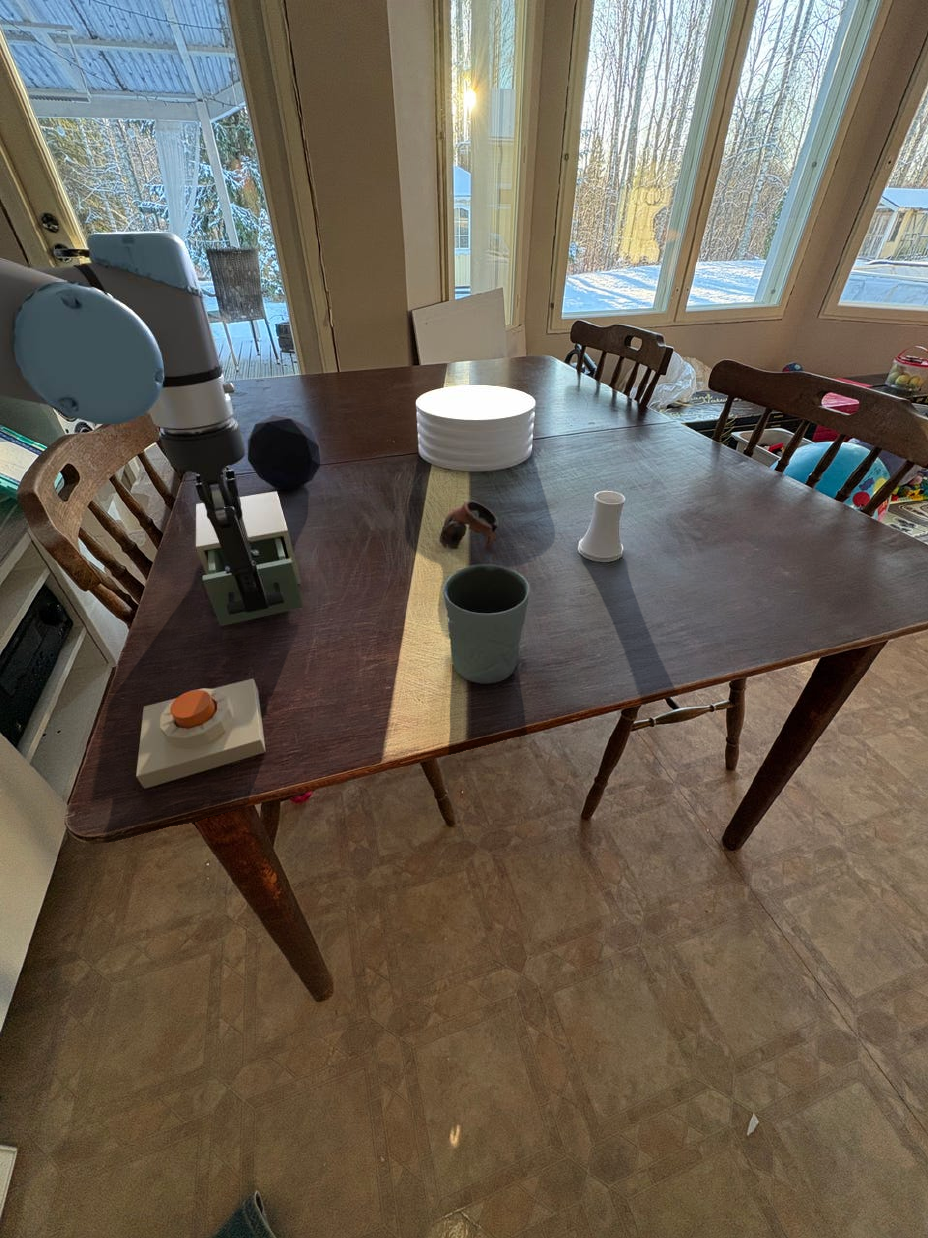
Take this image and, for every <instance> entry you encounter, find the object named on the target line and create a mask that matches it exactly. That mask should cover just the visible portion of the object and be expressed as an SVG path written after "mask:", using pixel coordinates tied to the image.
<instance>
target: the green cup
mask: <svg viewBox="0 0 928 1238" xmlns="http://www.w3.org/2000/svg"><path fill="white" fill-rule="evenodd" d="M442 593H443V600H444V605H445V610H446V616H447V618H448V621H447V631H448V637H449V640H450V641H449V643H450V644H449V645H450V654H451V662H452V666H453V668H454V669H455V671H456V673H457V674H458V675H459V676H461V677H462V678H464V679H465V680H467V681H470V682H472V683H477V684H487V685H489V684H494V683H495V684H496V683H498V682H501V681H503V680H506V679H507V678H509V677H510V676H511V675H512V674H513V673H514V672H515V669H516V667H517V664H518V659H519V654H520V643H521V639H522V637H521V636H522V631H523V627H524V624H525V618H526V612H527V608H528V604H529V598H530V594H531V586H530V584H529V582H528V580H527V579H526V578H525V576H523V575H522V574H521V573H520V572H518V571H516V570H515V569H513V568H510V567H507V566H504V565H499V564H494V563H493V564H490V563H479V564H473V565H468V566H465V567H461V568H460V569H458V570H456V571H455V572H453V573H452V574H451V575H450V576H449V577H448V578H447V579H446V580H445V582H444V584H443V590H442Z"/></svg>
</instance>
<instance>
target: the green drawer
mask: <svg viewBox="0 0 928 1238" xmlns="http://www.w3.org/2000/svg"><path fill="white" fill-rule="evenodd" d="M250 546H251V547H250V548H251V551H254V550H258V553H259V557H256V558H252V560H255V562H256V566H257V569H258V572H259V575H260V579H261V582H262V585H263V588H264V592H265V595H266V598H267V601H268V607H269V608H267V609H263V610H258V611H254V612H249V613H247V612H246V609H245V606H244V603H243V600H242V597H241V594H240V591H239V589H238V586H237V583H236V580H235V577H234V576H232V574H231V573H230V574H226V569H225V567H226V566H228V563H227V561H226V558H225V556H224V553H223V551H222V548H221V547H220V548H214V549H209V550H208V565H209V573H210V574H209V575H206V574H205V575H202V582H203V585H204V588H205V591H206V593H207V595H208V597H209V600H210V603H211V605H212V609H213V611H214V614H215V616H216V618H217V621H218V624H219V626H220V627H224V626H227V625H232V624H237V623H241V622H245V621H246V622H247V621H250V620H254V619H258V618H264V617H267V616H272V615H276V614H281V613H285V612H289V611H294V610H298V609H302V608H304V606H303V601H302V597H301V593H300V590H299V589H300V588H299V584H297V581H296V577H295V573H294V569H293V565H292V561H291V558H290V559H286V558H285V554H284V550H283V546H282V542H281V539H280V536H279V537H274V538H268V539H263V540H258V541H252V542H251V545H250Z"/></svg>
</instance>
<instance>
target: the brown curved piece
mask: <svg viewBox="0 0 928 1238" xmlns="http://www.w3.org/2000/svg"><path fill="white" fill-rule="evenodd" d="M474 511H477V513H478V518H479V519H478V518H477V517H476V516H474V514H473V513H472V512H474ZM481 519H483V520H484V521H486V523H485V522H483V521H482V520H481ZM499 525H500V523H499V519H498V518H497V516H496V515H495V513H493V511H491V510H490V509H489V508H488V507H486V506H485V505H484V504H482V503H480V502H478V501H475V500H465V501H464V502H463V504H462V505H460V506H456V507H455V508H452V510H451V511H450V512H448V514H447V515H446V518H445V520H444V523H443V526H442V528H441V531H440V535H439V543H440V544H441V546H442V548H445V549H446V547H448V548H449V549H452V550H457V549H458V547H459V545H460V543H461V541H462V540H463V538H464V537H465V535H466V533H467V530H468V529H469V530H470V531H473V532H475V533H477V534H481V535H482V536H484V537H487V541H486V544H485V549H486V550H489V549H491V548H492V546H493V545H494V542H495V541H496V539H497V538H496V537H497V529H498V528H499Z"/></svg>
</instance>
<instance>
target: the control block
mask: <svg viewBox="0 0 928 1238" xmlns="http://www.w3.org/2000/svg"><path fill="white" fill-rule="evenodd" d="M258 689H259V688H258V686H257V685H256V681H255V679H254V678H253V677H252V678H249V679H246V680H242V681H237V682H234V683H233V682H232V683H229V684H226V685H221V686H218V687H214V688H207V687H205V688H199V689H198V690H203V691H206V692H208V693H209V694H210V696H211V698H212V701H213V703H214V705H215V708H216V709H215V713H214V715H213V717H212V718H211V719H210V720H209V721H207V722H206V723H204V724H203V725H201V726H197V727H194V728H190V729H186V728H182V727H180V726H178V724H177V723H176V721H175V719H174V717H173V716H172V714H171V711H170V708H171V705H172V703H173V702H174V700H175V699H176V698H173V699H168V700H165V701H160V702H157V703H153V704H149V705H145V706H143V709H142V710H143V711H142V718H141V719H142V720H141V731H140V737H139V740H140V741H139V748H138V756H137V765H136V772H135V773H136V775H135V778H136V779H137V780H138V781H139V783H140V784H141V786H142V787H143V789H144V790H146V789H149V788H153V787H155V786H159V785H162V784H165V783H169V782H172V781H176V780H178V779H182V778H185V777H189V776H192V775H195V774H198V773H203V772H205V771H208V770H212V769H214V768H215V769H216V768H219V767H222V766H226V765H228V764H231V763H235V762H239V761H242V760H244V759H249V758H252V757H255V756H258V755H261V754H265V753H266V744H265V736H264V726H263V721H262V719H263V718H262V711H261V704H260V696H259V690H258Z"/></svg>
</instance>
